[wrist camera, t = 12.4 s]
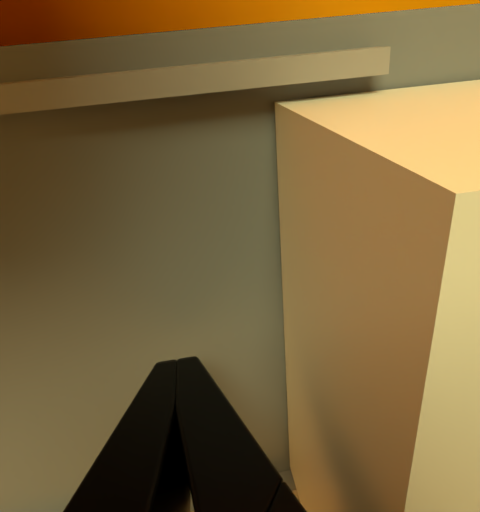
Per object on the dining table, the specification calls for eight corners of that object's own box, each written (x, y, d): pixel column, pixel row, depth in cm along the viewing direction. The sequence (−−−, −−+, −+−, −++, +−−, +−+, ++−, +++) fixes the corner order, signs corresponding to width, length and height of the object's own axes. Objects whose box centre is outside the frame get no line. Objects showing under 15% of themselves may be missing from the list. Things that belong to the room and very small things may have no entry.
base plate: (836, -27, 9) (1142, -61, 6) (586, 492, 17) (668, 580, 14) (-226, 69, 7) (-498, 83, 4) (67, 606, 15) (44, 734, 12)
